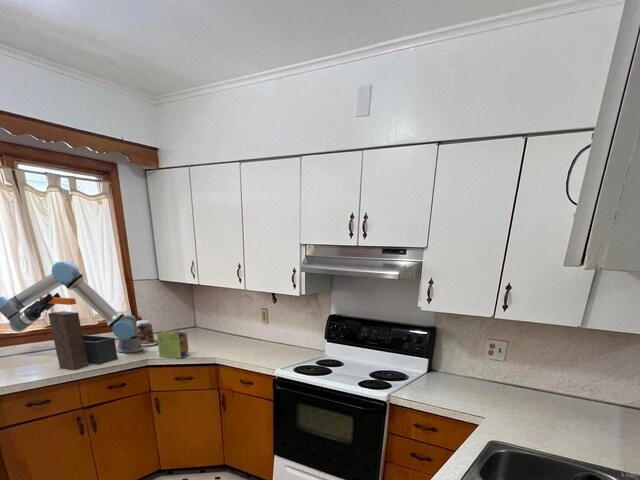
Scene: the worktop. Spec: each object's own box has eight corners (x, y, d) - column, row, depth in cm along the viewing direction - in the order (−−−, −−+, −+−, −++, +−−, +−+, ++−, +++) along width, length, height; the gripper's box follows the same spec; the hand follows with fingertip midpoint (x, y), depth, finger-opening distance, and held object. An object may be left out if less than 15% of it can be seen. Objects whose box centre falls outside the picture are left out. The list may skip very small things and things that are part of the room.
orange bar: (40, 302, 237) (38, 297, 236) (46, 302, 241) (45, 296, 240) (69, 304, 233) (68, 299, 231) (76, 304, 237) (75, 298, 235)
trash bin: (65, 361, 254) (61, 339, 248) (85, 355, 267) (81, 334, 262) (99, 364, 248) (95, 342, 243) (117, 358, 262) (114, 337, 257)
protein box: (181, 358, 267) (178, 333, 261) (159, 356, 270) (156, 332, 264) (189, 355, 277) (187, 331, 271) (167, 353, 280) (165, 329, 274)
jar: (140, 340, 317) (137, 319, 311) (156, 340, 317) (153, 320, 311) (134, 343, 306) (131, 322, 300) (150, 343, 306) (147, 322, 300)
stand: (60, 368, 238) (47, 313, 226) (74, 364, 247) (63, 311, 235) (74, 370, 236) (63, 314, 224) (88, 365, 245) (78, 312, 233)
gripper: (47, 318, 253) (71, 300, 244) (21, 323, 237) (45, 303, 228) (39, 307, 251) (63, 288, 242) (12, 310, 236) (37, 290, 227)
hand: (55, 295), depth 235 cm, fingers closed on orange bar, 4 cm apart
